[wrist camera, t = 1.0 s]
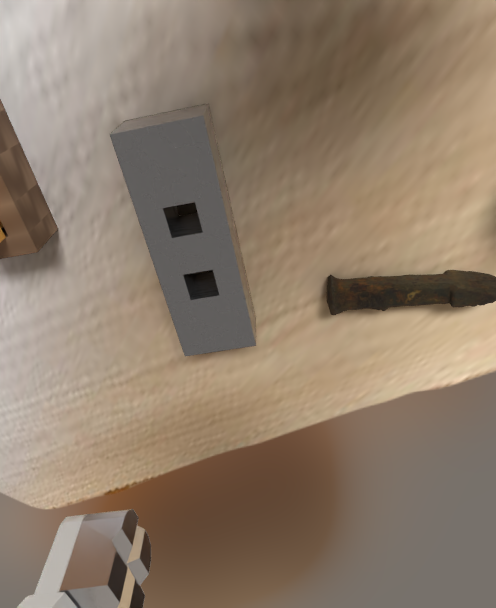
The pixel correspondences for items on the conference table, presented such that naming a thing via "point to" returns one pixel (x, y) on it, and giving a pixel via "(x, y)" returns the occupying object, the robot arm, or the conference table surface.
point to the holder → (20, 198)
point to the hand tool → (411, 291)
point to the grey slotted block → (188, 226)
